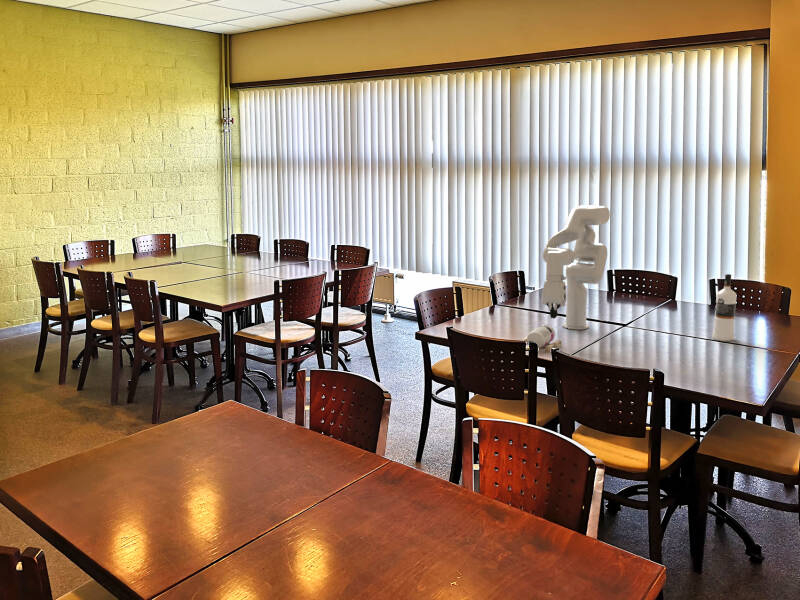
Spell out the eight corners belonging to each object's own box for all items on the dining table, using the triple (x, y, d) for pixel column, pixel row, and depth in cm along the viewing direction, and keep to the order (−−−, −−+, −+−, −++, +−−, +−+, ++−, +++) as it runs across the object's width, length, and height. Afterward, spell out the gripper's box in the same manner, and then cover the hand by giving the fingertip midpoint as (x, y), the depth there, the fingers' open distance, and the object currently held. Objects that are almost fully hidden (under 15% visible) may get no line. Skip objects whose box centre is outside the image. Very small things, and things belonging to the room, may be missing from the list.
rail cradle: (528, 341, 333) (528, 335, 332) (561, 345, 324) (561, 340, 324) (515, 347, 321) (515, 342, 321) (548, 352, 313) (548, 347, 312)
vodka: (738, 340, 331) (744, 275, 325) (723, 342, 327) (728, 276, 321) (722, 335, 339) (727, 272, 333) (707, 338, 336) (712, 273, 330)
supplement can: (557, 339, 326) (546, 347, 314) (541, 344, 331) (529, 351, 318) (552, 322, 326) (540, 329, 314) (535, 326, 331) (523, 333, 318)
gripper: (573, 278, 329) (572, 317, 333) (542, 275, 337) (541, 314, 341) (567, 281, 323) (566, 321, 327) (535, 278, 331) (535, 317, 335)
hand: (553, 317), depth 334 cm, fingers closed
